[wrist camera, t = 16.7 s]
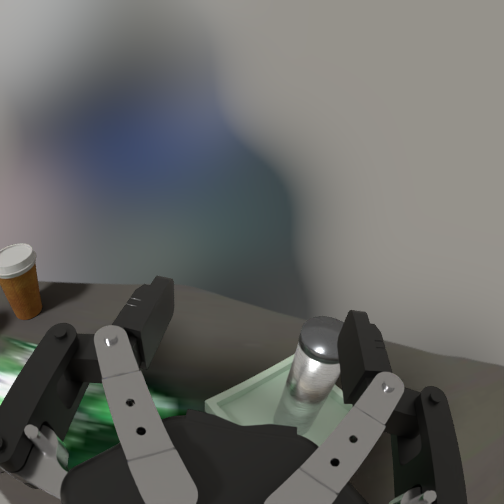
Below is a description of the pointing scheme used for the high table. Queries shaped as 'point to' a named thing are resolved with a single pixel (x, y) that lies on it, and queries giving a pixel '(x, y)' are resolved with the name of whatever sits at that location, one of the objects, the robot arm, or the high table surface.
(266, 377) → the tray
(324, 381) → the canister
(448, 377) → the high table surface
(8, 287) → the disposable coffee cup
